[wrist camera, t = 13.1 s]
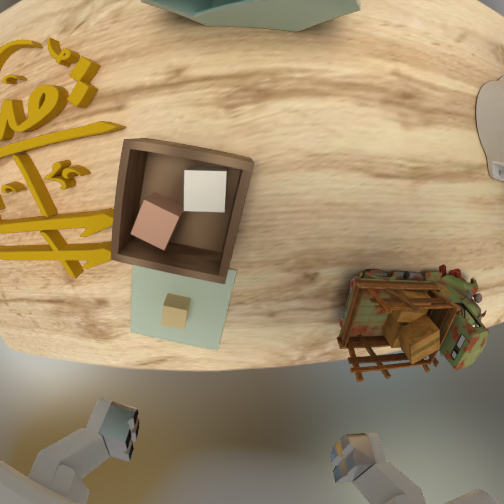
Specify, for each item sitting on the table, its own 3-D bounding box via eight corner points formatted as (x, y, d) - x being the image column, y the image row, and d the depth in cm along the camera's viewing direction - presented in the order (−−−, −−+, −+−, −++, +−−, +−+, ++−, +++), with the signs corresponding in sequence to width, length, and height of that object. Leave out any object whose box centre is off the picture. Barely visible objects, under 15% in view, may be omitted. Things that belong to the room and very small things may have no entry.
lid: (236, 267, 37) (236, 282, 33) (218, 346, 41) (216, 364, 37) (136, 246, 35) (126, 259, 31) (132, 327, 39) (124, 344, 36)
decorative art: (-28, 61, 19) (137, 3, 21) (-17, 62, 21) (144, 11, 23) (-22, 265, 31) (127, 284, 33) (-12, 258, 34) (134, 273, 36)
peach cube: (186, 207, 32) (179, 216, 28) (172, 237, 33) (164, 250, 29) (154, 192, 31) (144, 199, 27) (141, 222, 32) (130, 233, 28)
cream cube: (227, 167, 30) (226, 171, 27) (226, 203, 32) (224, 212, 28) (190, 166, 30) (184, 170, 26) (190, 202, 31) (183, 210, 28)
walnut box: (250, 157, 31) (254, 163, 24) (227, 256, 35) (225, 284, 29) (146, 138, 29) (123, 139, 23) (132, 236, 34) (110, 259, 27)
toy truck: (450, 319, 42) (496, 371, 28) (324, 323, 40) (357, 403, 26) (471, 265, 38) (529, 310, 24) (342, 254, 36) (394, 322, 22)
